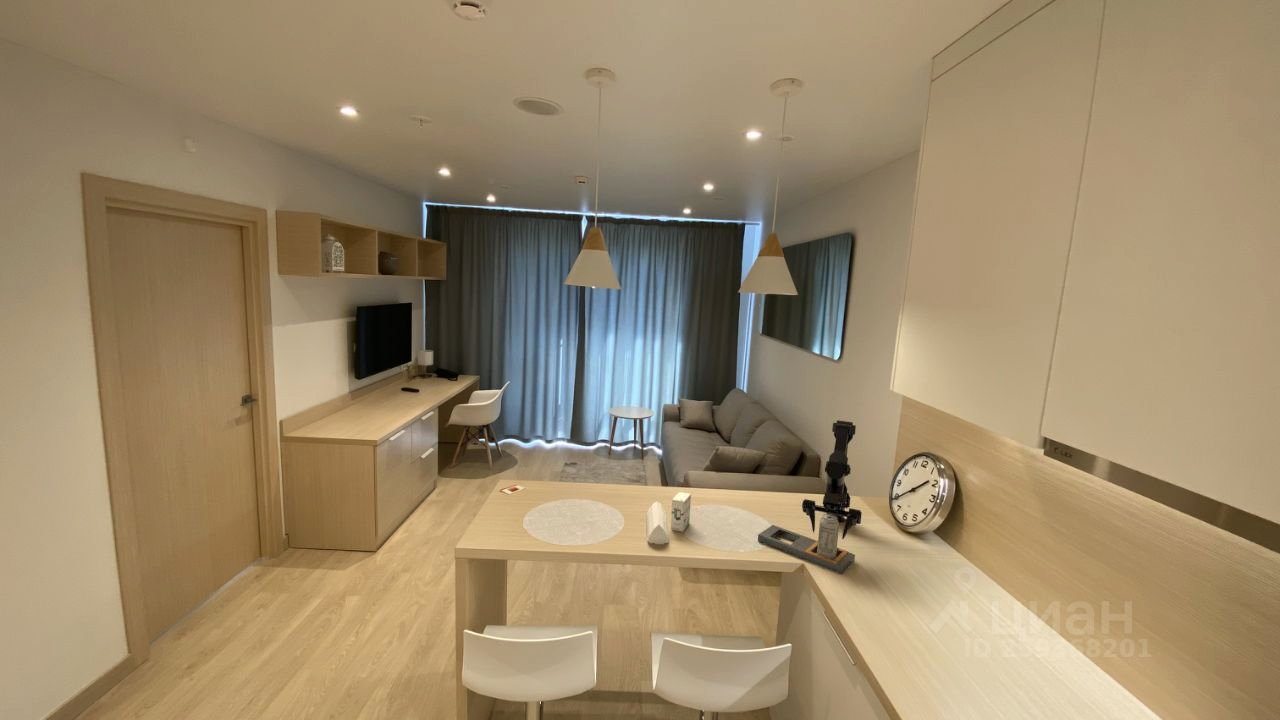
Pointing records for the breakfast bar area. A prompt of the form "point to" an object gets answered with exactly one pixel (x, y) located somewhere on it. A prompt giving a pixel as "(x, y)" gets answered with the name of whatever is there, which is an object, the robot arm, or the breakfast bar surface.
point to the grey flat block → (805, 549)
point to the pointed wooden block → (657, 524)
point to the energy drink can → (828, 536)
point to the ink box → (680, 511)
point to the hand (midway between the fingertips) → (827, 535)
